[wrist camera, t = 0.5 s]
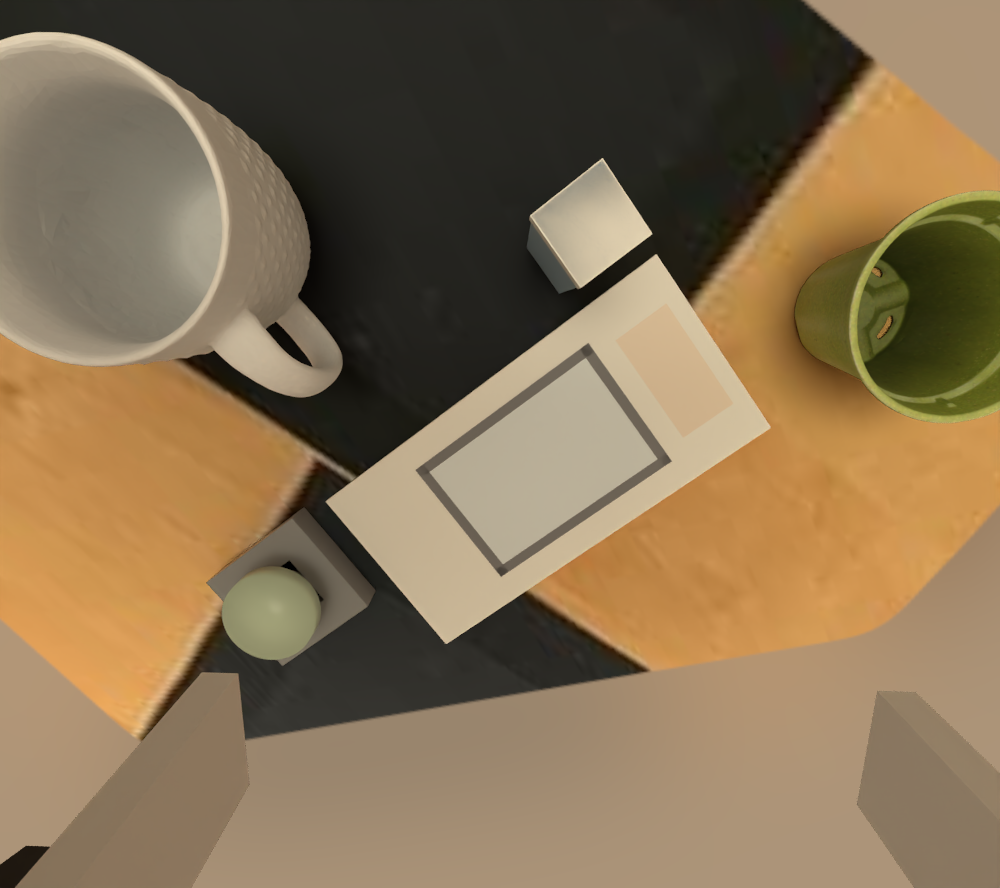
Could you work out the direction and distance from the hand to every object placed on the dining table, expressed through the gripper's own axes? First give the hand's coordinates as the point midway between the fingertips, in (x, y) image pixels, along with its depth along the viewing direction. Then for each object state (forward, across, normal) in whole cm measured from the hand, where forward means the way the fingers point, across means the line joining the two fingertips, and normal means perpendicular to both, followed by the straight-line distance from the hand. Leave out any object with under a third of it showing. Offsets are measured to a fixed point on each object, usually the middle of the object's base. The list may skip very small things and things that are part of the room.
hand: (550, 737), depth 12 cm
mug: (+24, -16, +11) cm, 30 cm away
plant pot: (+24, +18, +9) cm, 31 cm away
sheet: (+24, +1, 0) cm, 24 cm away
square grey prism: (+24, +2, +12) cm, 26 cm away
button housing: (+24, -14, -8) cm, 29 cm away
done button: (+22, -15, -8) cm, 28 cm away
